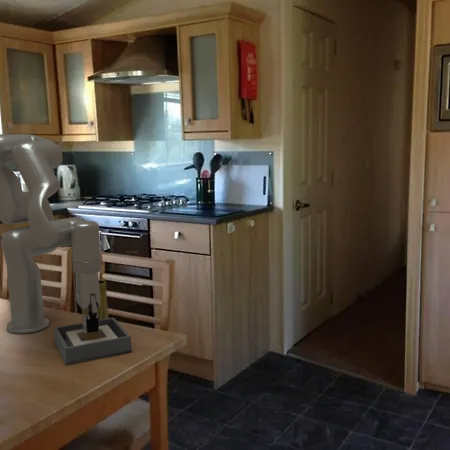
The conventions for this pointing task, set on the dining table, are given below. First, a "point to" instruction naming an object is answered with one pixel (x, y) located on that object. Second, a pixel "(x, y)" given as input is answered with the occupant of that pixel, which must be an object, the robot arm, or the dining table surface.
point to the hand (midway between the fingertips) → (90, 328)
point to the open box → (95, 348)
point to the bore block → (78, 337)
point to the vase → (102, 301)
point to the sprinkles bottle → (86, 335)
